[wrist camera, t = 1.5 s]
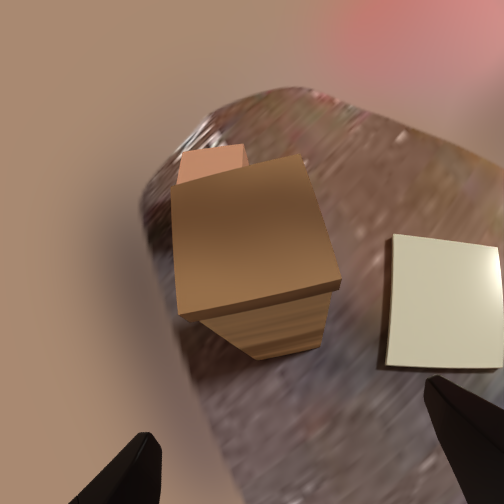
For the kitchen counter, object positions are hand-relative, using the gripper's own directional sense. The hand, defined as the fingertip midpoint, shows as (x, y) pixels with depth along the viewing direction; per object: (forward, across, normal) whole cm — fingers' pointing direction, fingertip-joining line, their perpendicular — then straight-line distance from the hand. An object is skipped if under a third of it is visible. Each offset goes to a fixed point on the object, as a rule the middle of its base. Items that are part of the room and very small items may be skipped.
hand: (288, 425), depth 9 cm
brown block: (+13, 0, +4) cm, 14 cm away
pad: (+12, -13, +6) cm, 18 cm away
